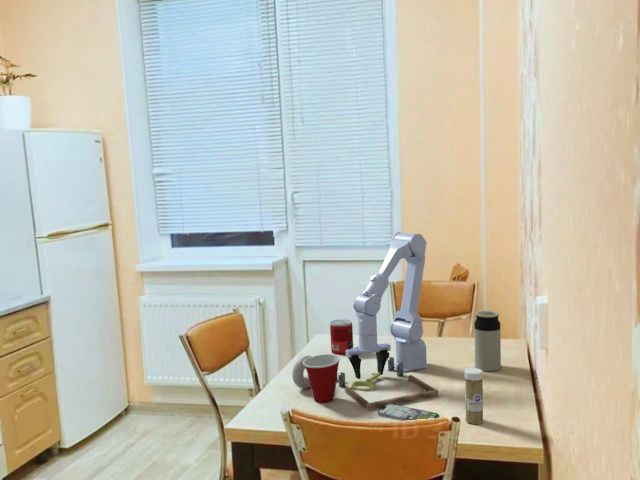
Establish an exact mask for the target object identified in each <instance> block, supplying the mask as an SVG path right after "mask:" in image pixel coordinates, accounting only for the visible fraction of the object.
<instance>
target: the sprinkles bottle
mask: <svg viewBox="0 0 640 480" xmlns="http://www.w3.org/2000/svg"><path fill="white" fill-rule="evenodd" d="M483 379H484V371H482V370H480V369H477V368H476V367H469V368H466V369H465V370H464V380H465V384H464V385H465V388H464V389H465V391H464V393H465V394H464V395H465V396H464V398H465V399H464V402H465V408H464V409H465V421H466V423H468V424H473V425H479V424H482V423H483V422H484V391H483V390H484V389H483V388H484V387H483Z"/></svg>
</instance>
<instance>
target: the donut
mask: <svg viewBox="0 0 640 480" xmlns="http://www.w3.org/2000/svg"><path fill="white" fill-rule="evenodd" d="M309 357H313V356H311V355H310V354H309V355H303V356H301V357H299V358H298V359H297V360H296V362H295V363H294V364H293V368H292V375H291V376H292V380H293V382H294V385H295V386H297V387H298V388H300V389H308V388H311V386H310V381H309V377H308V373H307V374H306V375H304V373H305V372H304V371H306V367H305V366H304V365H303V361H304V360H305V359H307V358H309Z"/></svg>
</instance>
